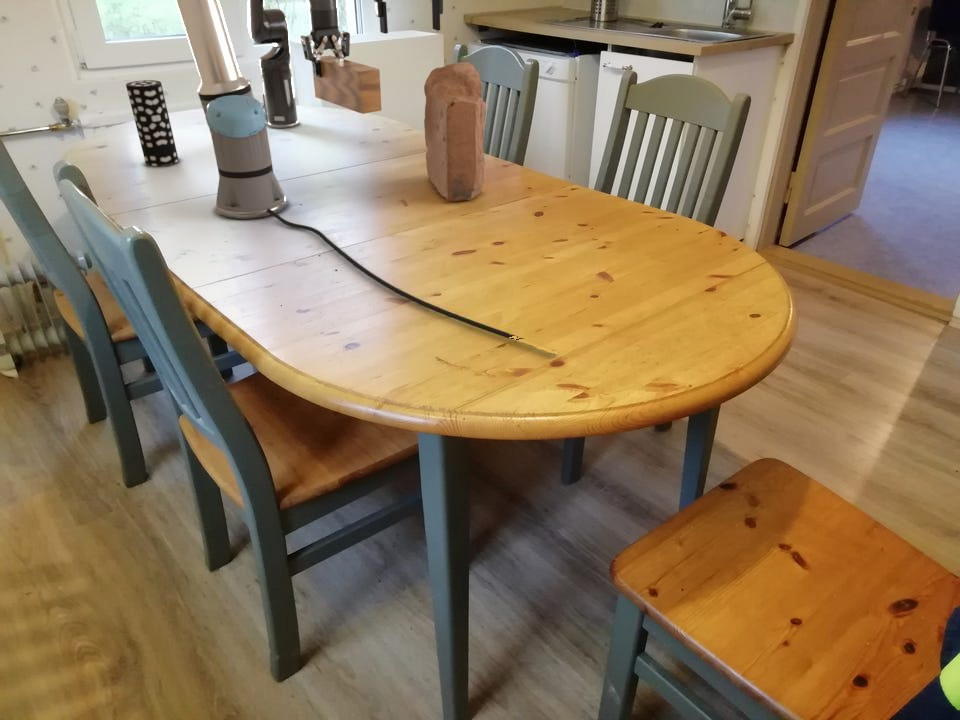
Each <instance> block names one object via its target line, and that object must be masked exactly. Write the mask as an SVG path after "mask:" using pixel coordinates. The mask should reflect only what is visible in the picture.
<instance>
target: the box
mask: <svg viewBox="0 0 960 720" xmlns="http://www.w3.org/2000/svg"><path fill="white" fill-rule="evenodd" d="M319 63H321V74H322V77H320V78H318V77H316V76H315V75H314V73H313V72H312V77H313V78H312V79H313V88H314V97H315V98H317V99H319V100H321V101H325V102H328V103H331V104H334V105H335V106H339V107H341V108H345V109H348V110H351V111H353V112H356V113H358V114H362V115H364V114H370V113H376V112H381V111H383V110H382V109H383V108H382V93H381V75H380V73H381V72H380V68H378V67H377V68H376V67H373V66H370V65H366V64H364V63H359V62H355V61H351V60H349V59H348V60H347V59H345V58H344V59H341V58H338V57H335V55H324V56H322V55H321V58H320V61H319ZM311 68H312V70H313V64H312V63H311Z"/></svg>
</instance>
